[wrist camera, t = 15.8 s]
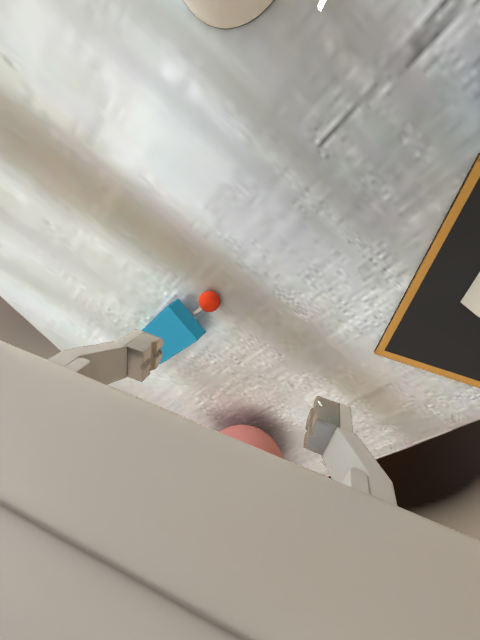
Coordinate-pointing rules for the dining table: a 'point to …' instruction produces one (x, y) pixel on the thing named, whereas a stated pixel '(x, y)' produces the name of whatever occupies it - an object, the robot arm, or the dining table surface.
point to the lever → (180, 324)
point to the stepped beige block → (473, 297)
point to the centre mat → (443, 297)
